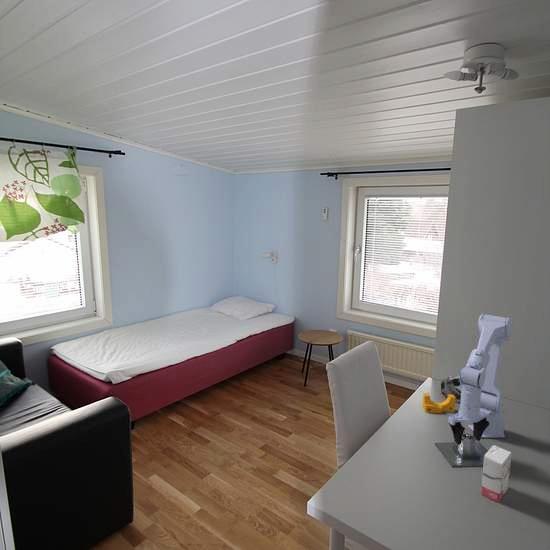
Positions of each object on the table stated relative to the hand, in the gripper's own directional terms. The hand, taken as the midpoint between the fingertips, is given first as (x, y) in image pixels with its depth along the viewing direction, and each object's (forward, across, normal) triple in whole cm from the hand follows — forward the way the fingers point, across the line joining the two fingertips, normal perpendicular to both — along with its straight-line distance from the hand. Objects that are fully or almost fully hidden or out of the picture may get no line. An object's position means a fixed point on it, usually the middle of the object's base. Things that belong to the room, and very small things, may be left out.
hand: (467, 441), depth 124 cm
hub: (+3, 0, 0) cm, 3 cm away
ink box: (+5, +5, +16) cm, 18 cm away
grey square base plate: (+5, 0, 0) cm, 5 cm away
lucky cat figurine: (+5, -27, -34) cm, 43 cm away
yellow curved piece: (+5, -11, -27) cm, 30 cm away
